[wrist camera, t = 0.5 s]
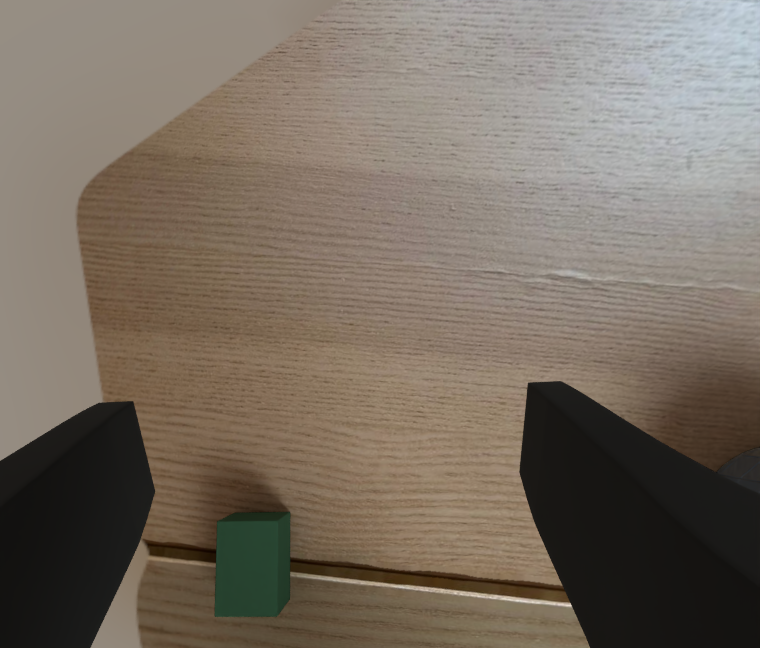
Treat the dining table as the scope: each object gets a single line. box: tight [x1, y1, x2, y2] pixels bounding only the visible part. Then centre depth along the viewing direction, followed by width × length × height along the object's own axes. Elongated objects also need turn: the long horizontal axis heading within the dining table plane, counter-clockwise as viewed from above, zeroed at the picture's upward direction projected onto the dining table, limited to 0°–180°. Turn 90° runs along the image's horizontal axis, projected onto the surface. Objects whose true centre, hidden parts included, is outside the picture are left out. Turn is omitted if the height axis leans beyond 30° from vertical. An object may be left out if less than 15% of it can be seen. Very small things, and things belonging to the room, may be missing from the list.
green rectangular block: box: [215, 512, 290, 617], centre depth 32 cm, size 5×4×3 cm
